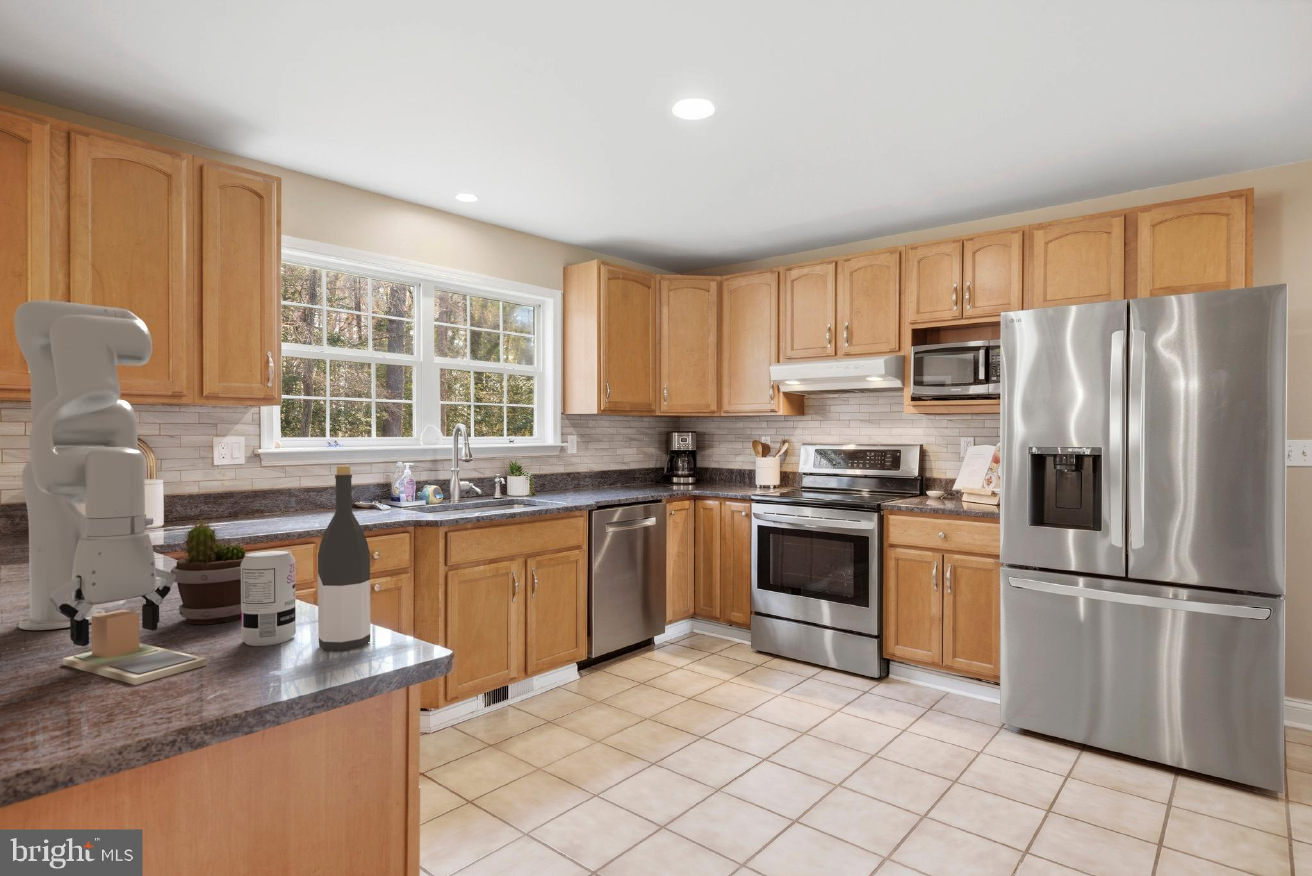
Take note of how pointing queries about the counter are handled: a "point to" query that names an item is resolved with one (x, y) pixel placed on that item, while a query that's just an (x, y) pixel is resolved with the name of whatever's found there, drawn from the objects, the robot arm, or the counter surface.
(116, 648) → the block
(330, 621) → the wine bottle
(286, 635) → the supplement can
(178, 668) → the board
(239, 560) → the flowerpot
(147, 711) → the counter surface
